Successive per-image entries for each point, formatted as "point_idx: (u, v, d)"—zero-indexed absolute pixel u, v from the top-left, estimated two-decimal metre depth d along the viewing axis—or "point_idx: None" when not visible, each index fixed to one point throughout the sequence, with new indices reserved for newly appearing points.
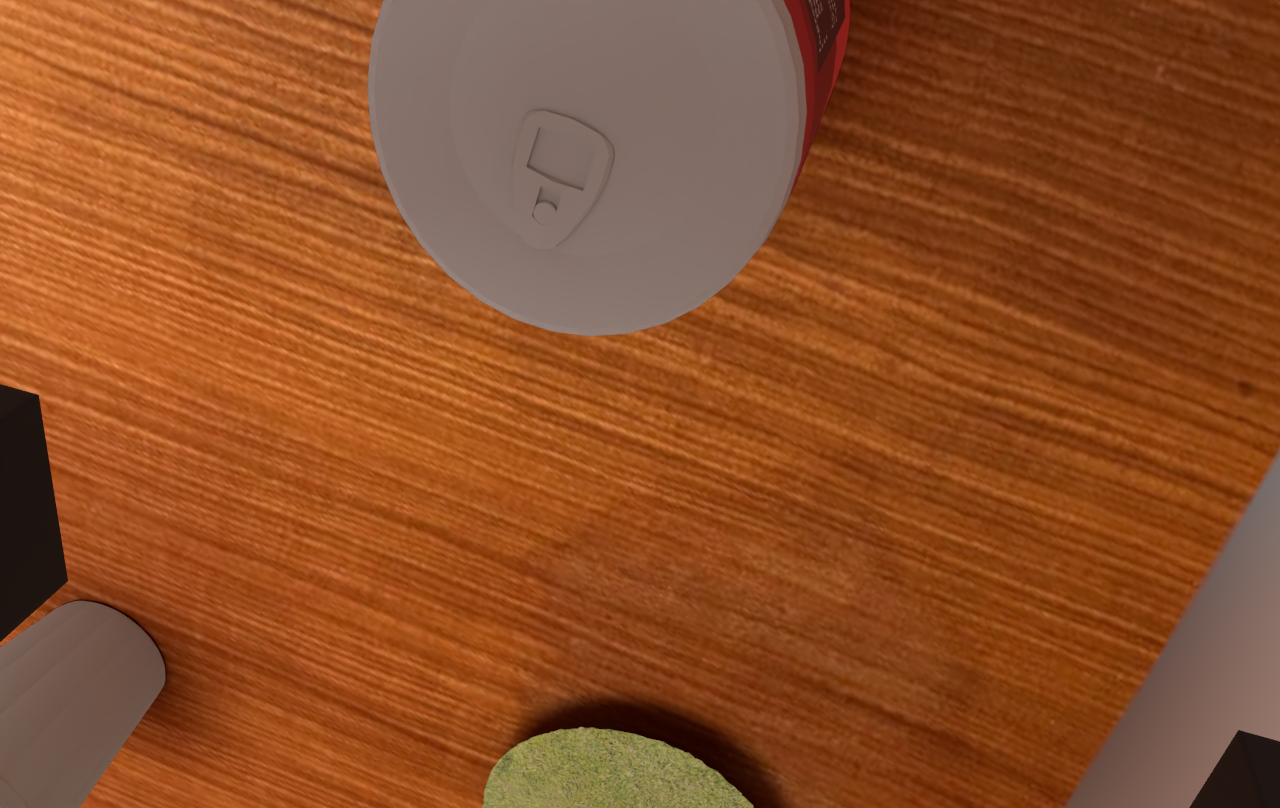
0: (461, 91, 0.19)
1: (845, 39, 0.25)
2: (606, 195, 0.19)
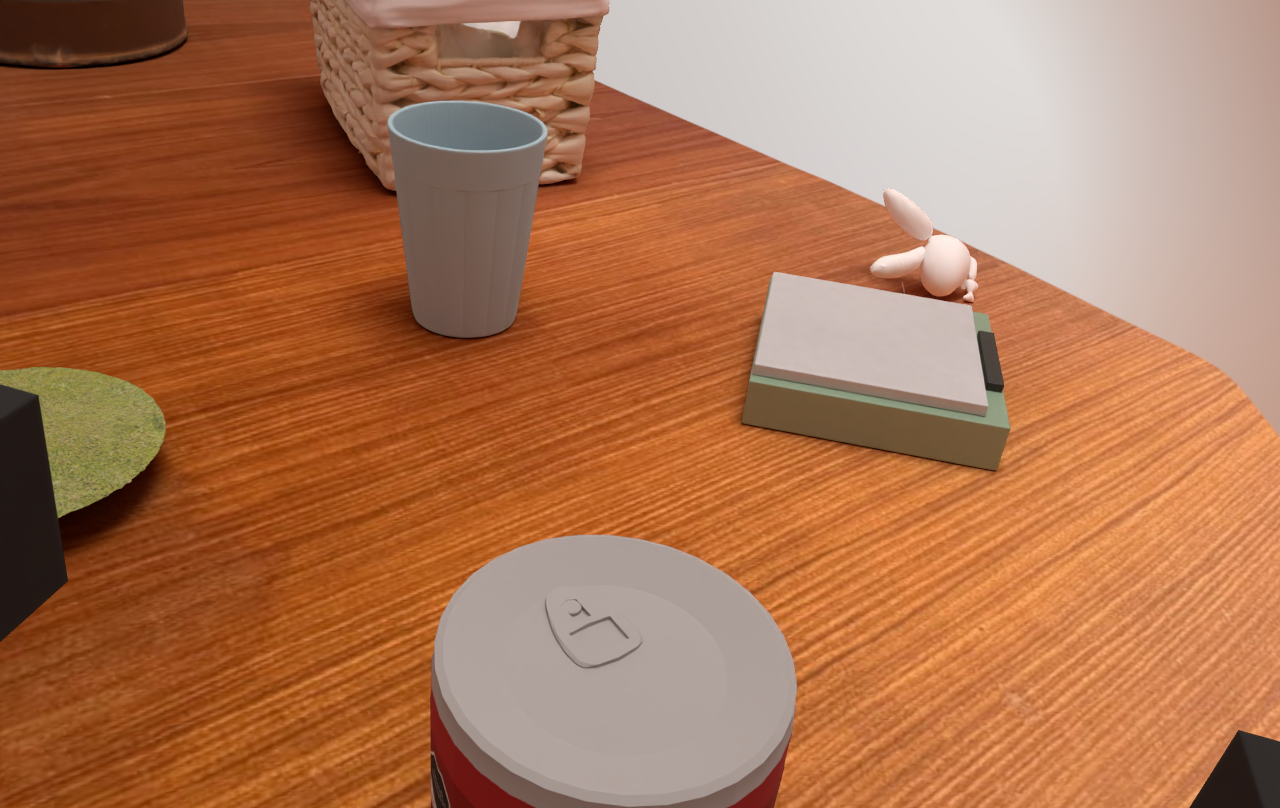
0: (682, 617, 0.24)
1: None
2: (554, 646, 0.23)
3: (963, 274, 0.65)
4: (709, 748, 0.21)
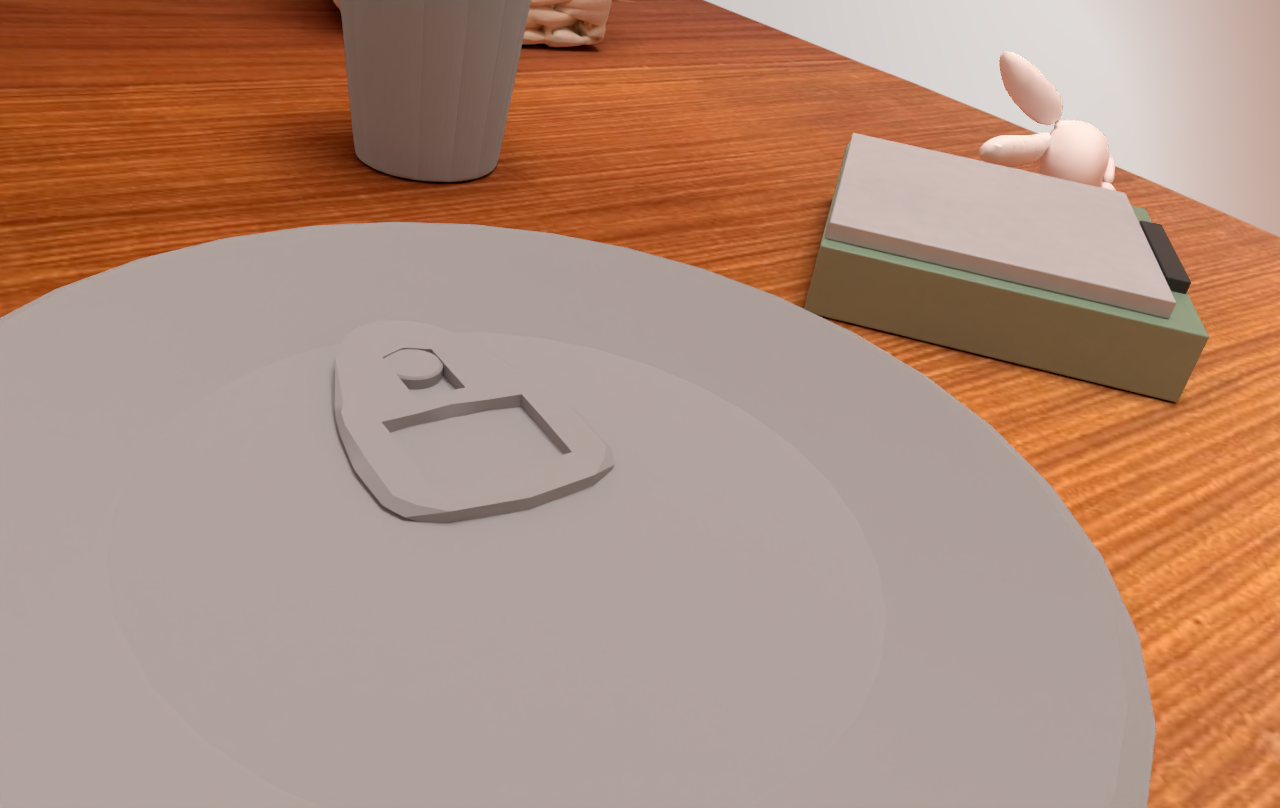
0: (738, 426, 0.08)
1: None
2: (324, 452, 0.07)
3: (1100, 170, 0.49)
4: None
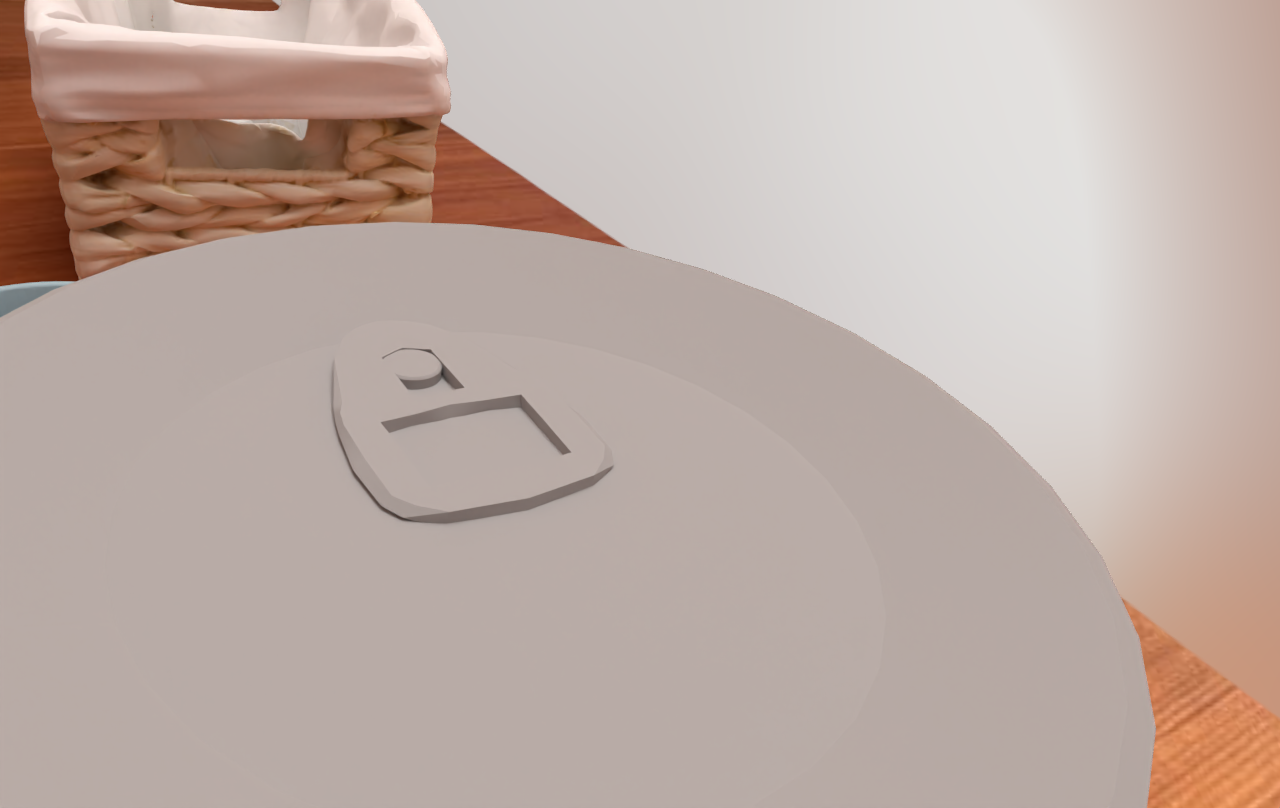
0: (737, 426, 0.08)
1: None
2: (323, 452, 0.07)
3: None
4: None
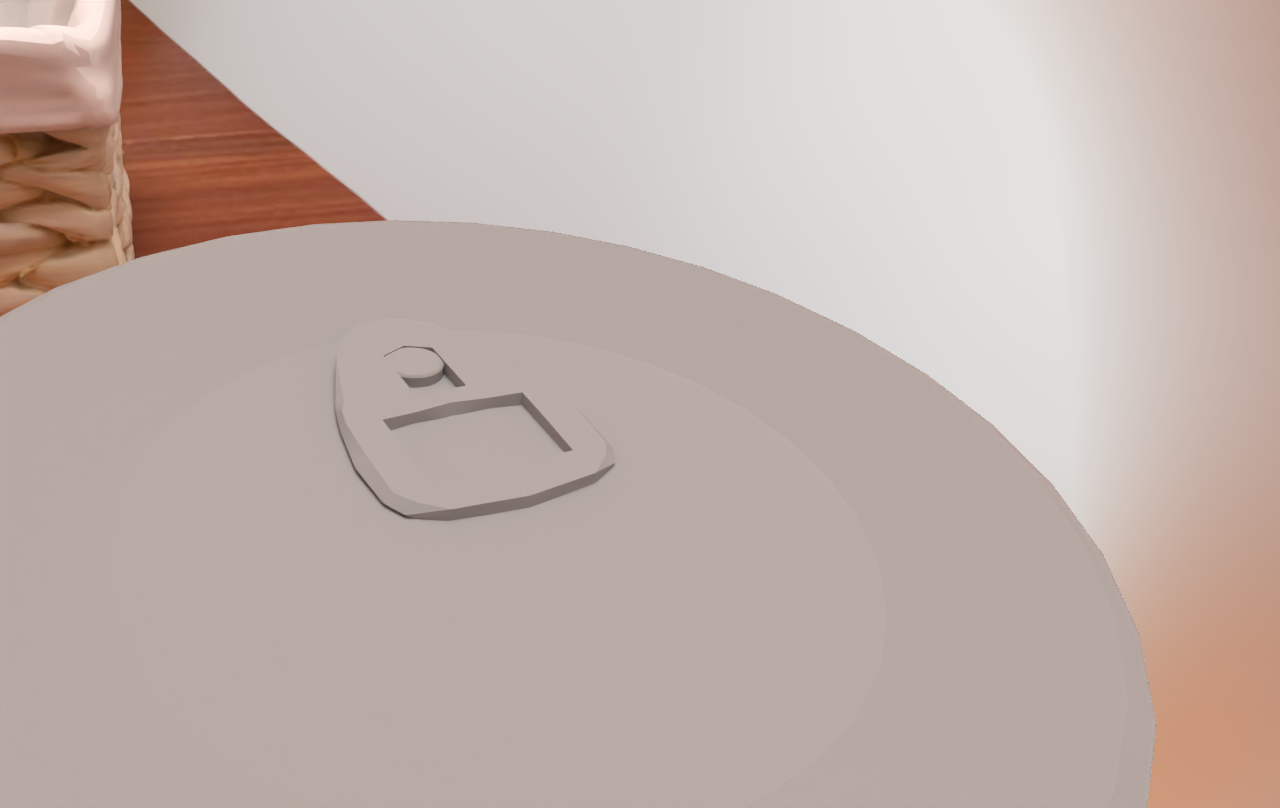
0: (739, 423, 0.08)
1: None
2: (325, 449, 0.07)
3: None
4: None
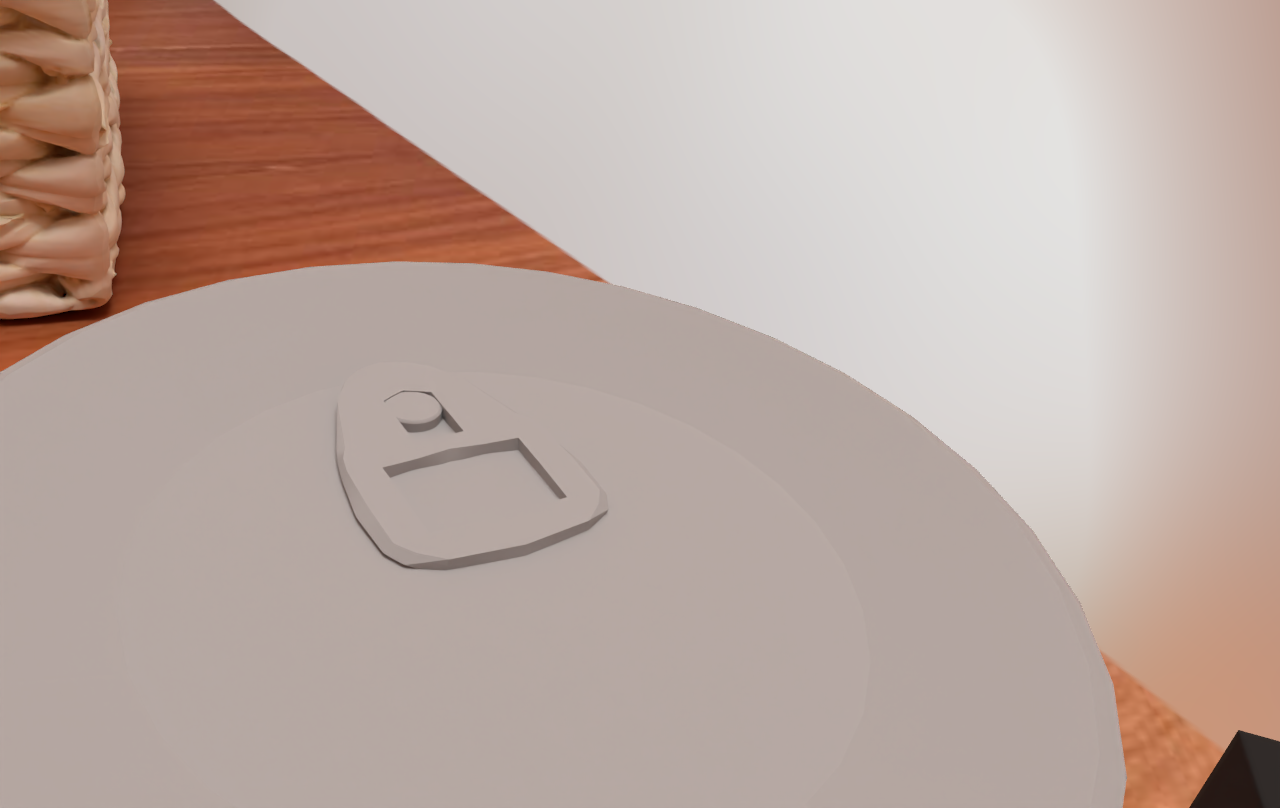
0: (729, 465, 0.09)
1: None
2: (328, 497, 0.07)
3: None
4: None
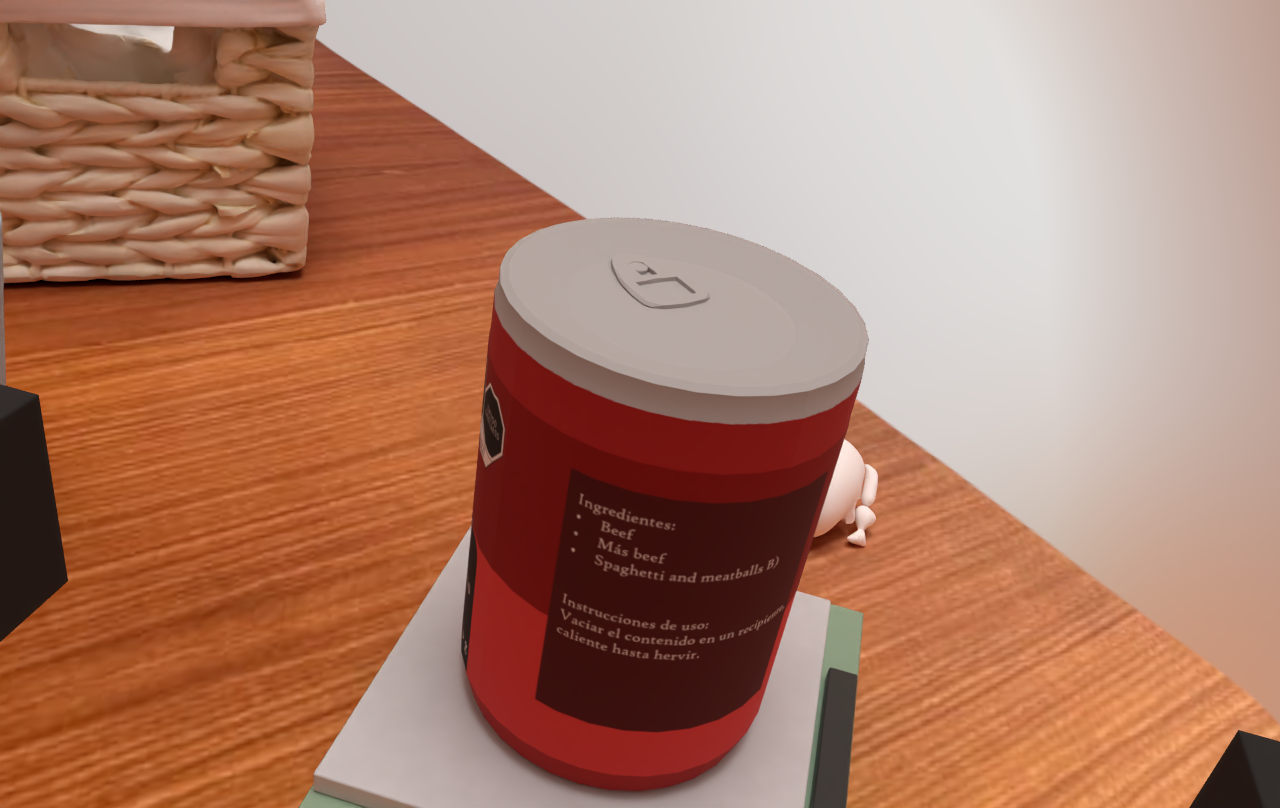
0: (750, 289, 0.24)
1: (512, 702, 0.24)
2: (619, 290, 0.23)
3: (847, 504, 0.38)
4: (778, 370, 0.21)
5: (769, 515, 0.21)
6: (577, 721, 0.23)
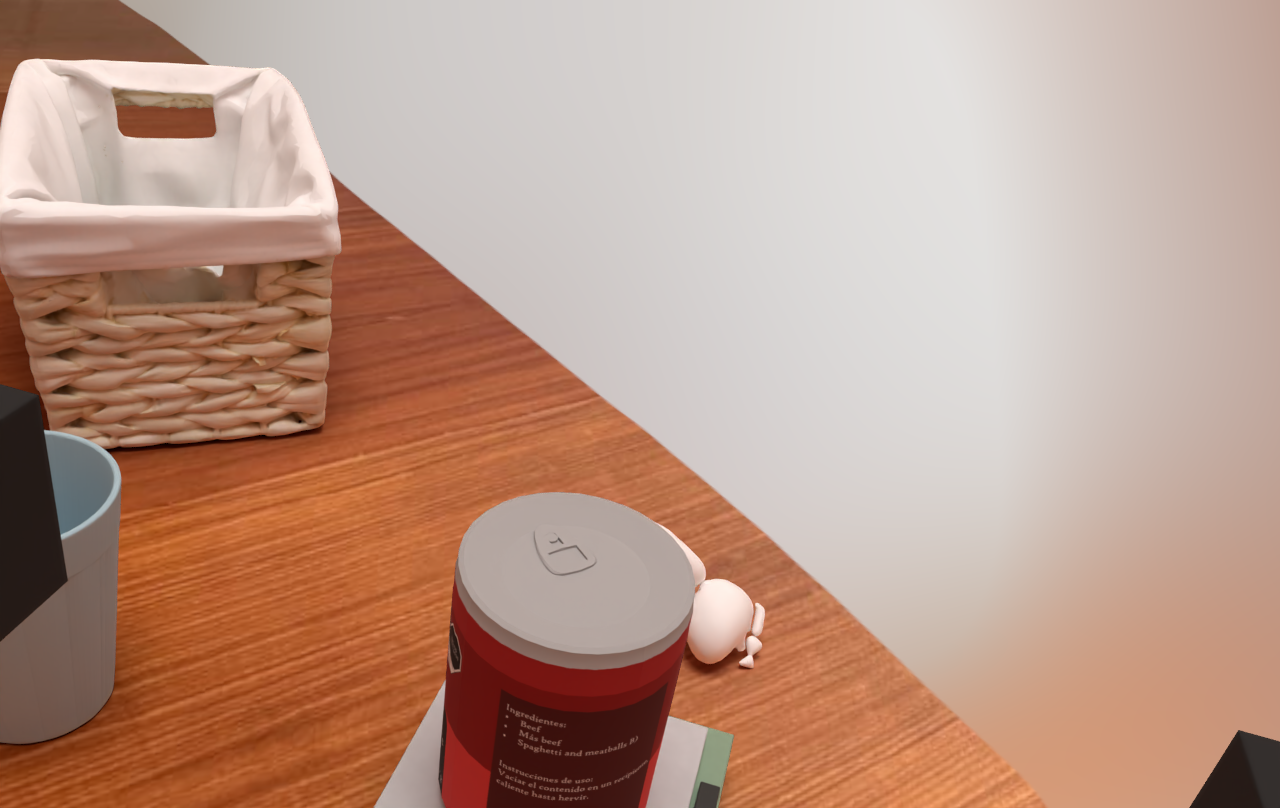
0: (625, 550, 0.36)
1: None
2: (537, 560, 0.35)
3: (736, 639, 0.50)
4: (630, 627, 0.33)
5: (627, 715, 0.33)
6: None
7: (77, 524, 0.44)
